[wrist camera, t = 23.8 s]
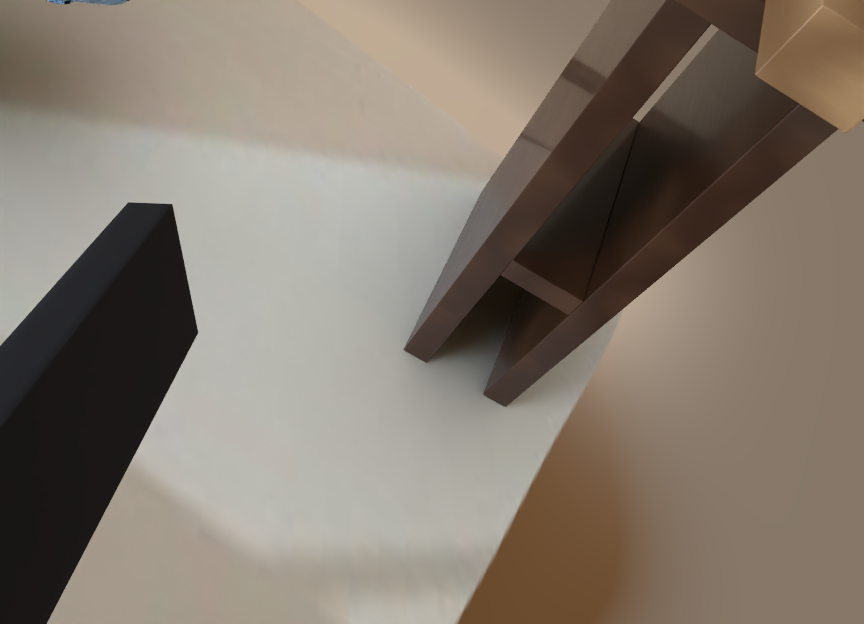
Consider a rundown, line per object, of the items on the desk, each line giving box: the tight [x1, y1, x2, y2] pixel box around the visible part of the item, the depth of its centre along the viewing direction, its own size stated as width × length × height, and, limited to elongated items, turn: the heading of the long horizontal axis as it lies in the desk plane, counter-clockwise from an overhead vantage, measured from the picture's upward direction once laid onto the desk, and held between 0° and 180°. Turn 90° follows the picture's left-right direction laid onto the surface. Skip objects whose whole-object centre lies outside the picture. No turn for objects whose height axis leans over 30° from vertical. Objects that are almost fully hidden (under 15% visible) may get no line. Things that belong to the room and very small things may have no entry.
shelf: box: [404, 0, 864, 407], centre depth 39 cm, size 8×18×33 cm, turn 158°
